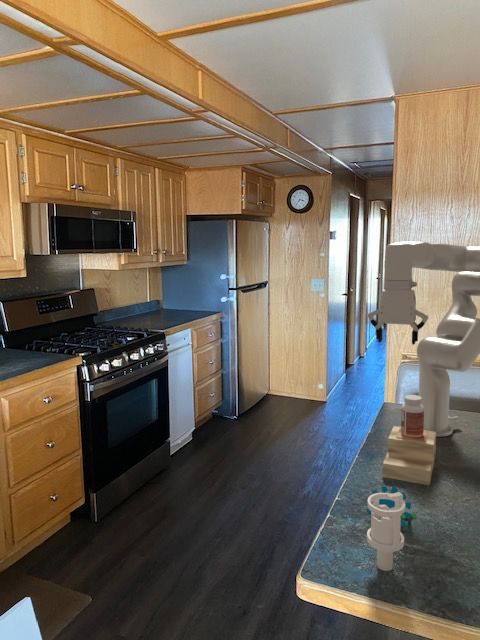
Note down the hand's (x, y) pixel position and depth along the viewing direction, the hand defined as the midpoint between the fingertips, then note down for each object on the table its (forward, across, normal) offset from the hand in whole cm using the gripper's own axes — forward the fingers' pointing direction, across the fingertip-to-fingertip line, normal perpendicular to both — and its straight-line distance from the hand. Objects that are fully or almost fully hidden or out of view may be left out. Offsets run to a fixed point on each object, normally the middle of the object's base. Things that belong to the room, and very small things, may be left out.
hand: (396, 342), depth 147 cm
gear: (+33, -5, +43) cm, 54 cm away
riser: (+33, -6, +12) cm, 36 cm away
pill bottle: (+25, -6, +8) cm, 27 cm away
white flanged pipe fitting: (+33, -6, +58) cm, 67 cm away
